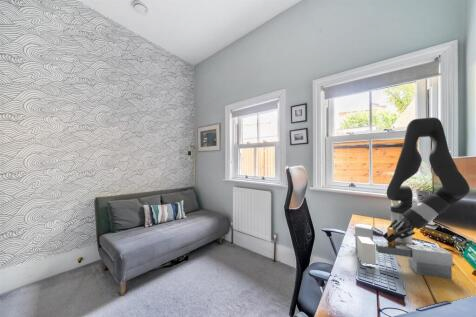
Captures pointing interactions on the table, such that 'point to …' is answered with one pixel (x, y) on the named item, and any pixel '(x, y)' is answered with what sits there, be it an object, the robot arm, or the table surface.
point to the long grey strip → (393, 247)
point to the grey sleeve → (431, 261)
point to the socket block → (366, 250)
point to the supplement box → (363, 232)
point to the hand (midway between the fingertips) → (386, 239)
